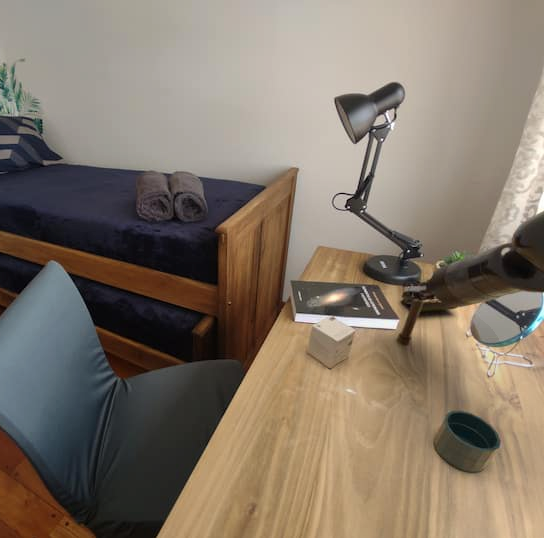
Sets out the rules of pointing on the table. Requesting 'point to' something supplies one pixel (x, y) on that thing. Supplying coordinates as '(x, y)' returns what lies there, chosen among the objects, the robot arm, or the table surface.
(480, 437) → the green round cup
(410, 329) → the stick
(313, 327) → the beige stone block
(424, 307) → the end cap
